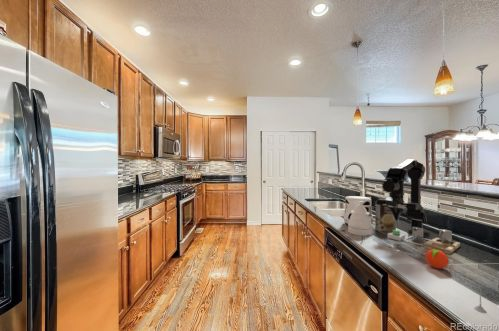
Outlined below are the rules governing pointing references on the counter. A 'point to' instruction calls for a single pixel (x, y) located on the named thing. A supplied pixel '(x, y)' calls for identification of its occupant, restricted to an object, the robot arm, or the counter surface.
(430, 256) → the tomato
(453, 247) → the shallow beige tray
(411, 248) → the counter surface
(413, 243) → the grey flat rimmed tray
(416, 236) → the cylinder
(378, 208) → the coffee box
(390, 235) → the white square frame
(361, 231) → the honey pot
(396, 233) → the button
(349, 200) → the milk container
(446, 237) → the billet
